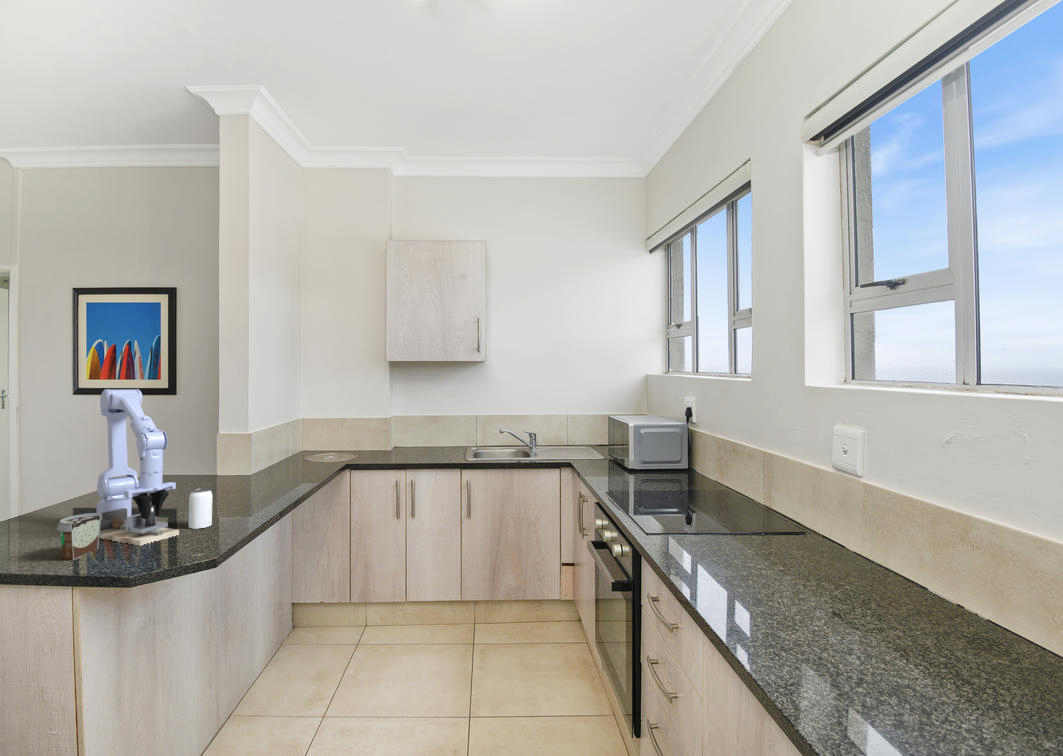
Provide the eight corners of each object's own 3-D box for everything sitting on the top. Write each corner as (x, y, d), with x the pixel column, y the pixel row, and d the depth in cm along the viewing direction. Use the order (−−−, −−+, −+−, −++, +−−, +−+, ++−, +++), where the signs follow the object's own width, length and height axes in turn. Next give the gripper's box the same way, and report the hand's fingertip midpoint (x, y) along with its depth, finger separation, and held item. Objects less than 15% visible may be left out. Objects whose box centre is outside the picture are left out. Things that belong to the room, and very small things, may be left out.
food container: (78, 547, 155) (79, 512, 155) (101, 547, 156) (102, 512, 156) (43, 562, 143) (44, 524, 143) (68, 562, 144) (69, 524, 144)
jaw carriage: (126, 531, 163) (126, 506, 163) (152, 524, 170) (153, 501, 170) (141, 533, 161) (142, 508, 161) (167, 526, 168) (168, 503, 168)
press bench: (87, 536, 165) (88, 515, 165) (128, 527, 177) (128, 506, 177) (140, 545, 158) (140, 523, 158) (178, 534, 170) (179, 513, 170)
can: (200, 530, 175) (201, 492, 175) (183, 528, 176) (184, 491, 176) (216, 525, 181) (217, 488, 181) (199, 523, 182) (200, 487, 182)
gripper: (136, 476, 157) (135, 524, 157) (183, 469, 171) (182, 513, 171) (119, 474, 159) (118, 521, 159) (166, 467, 173) (165, 510, 173)
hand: (150, 517), depth 165 cm, fingers closed on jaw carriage, 3 cm apart
